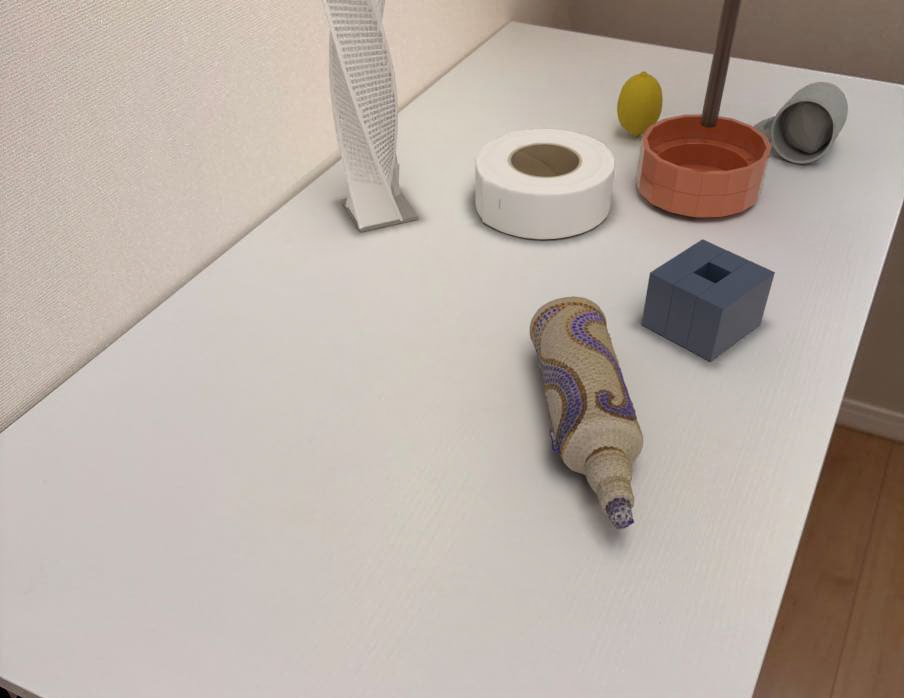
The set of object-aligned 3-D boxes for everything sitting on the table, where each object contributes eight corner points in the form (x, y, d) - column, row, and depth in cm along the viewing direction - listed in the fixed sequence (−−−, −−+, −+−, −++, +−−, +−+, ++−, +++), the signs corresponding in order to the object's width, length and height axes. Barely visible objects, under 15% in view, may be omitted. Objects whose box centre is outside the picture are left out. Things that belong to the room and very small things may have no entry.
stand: (760, 324, 94) (775, 272, 89) (710, 362, 90) (722, 308, 85) (691, 290, 98) (702, 238, 93) (641, 324, 94) (649, 272, 89)
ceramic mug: (842, 142, 118) (859, 79, 113) (825, 170, 114) (843, 106, 108) (758, 126, 122) (772, 64, 116) (739, 153, 117) (752, 89, 112)
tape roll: (446, 203, 110) (445, 157, 106) (541, 158, 117) (544, 114, 113) (541, 257, 102) (544, 210, 98) (638, 206, 109) (644, 160, 105)
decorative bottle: (524, 353, 91) (527, 294, 86) (601, 349, 91) (609, 290, 86) (566, 555, 74) (574, 496, 69) (661, 549, 74) (675, 489, 69)
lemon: (628, 122, 123) (636, 58, 117) (665, 134, 121) (675, 70, 115) (605, 138, 120) (612, 73, 114) (642, 151, 118) (651, 85, 112)
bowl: (782, 191, 111) (795, 141, 106) (710, 237, 104) (721, 186, 100) (684, 151, 118) (692, 103, 113) (611, 192, 111) (617, 142, 107)
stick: (719, 124, 105) (762, -84, 90) (710, 129, 104) (751, -80, 89) (706, 119, 106) (746, -88, 91) (696, 124, 105) (735, -84, 90)
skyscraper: (422, 225, 107) (410, -54, 86) (354, 240, 105) (325, -41, 84) (398, 191, 112) (380, -80, 91) (333, 205, 110) (299, -69, 89)
